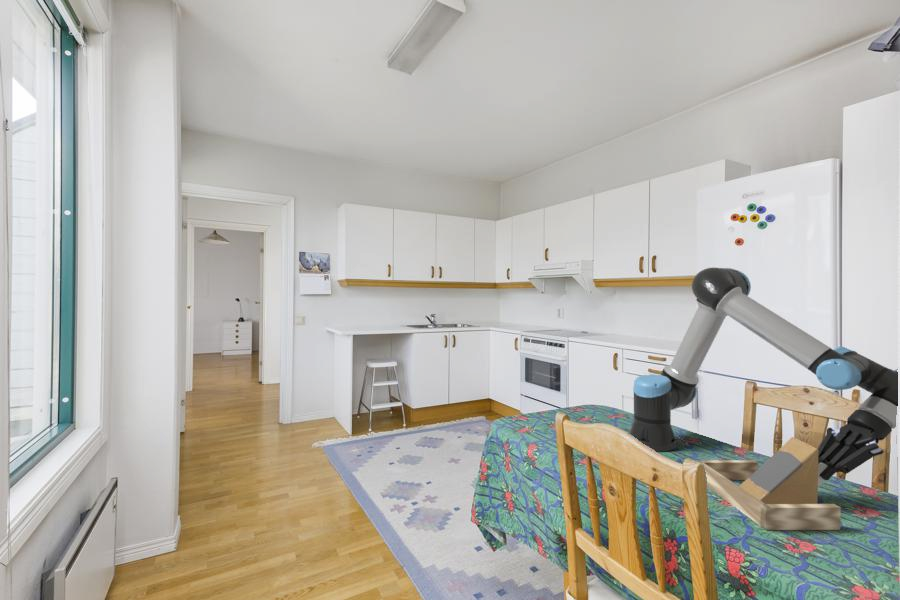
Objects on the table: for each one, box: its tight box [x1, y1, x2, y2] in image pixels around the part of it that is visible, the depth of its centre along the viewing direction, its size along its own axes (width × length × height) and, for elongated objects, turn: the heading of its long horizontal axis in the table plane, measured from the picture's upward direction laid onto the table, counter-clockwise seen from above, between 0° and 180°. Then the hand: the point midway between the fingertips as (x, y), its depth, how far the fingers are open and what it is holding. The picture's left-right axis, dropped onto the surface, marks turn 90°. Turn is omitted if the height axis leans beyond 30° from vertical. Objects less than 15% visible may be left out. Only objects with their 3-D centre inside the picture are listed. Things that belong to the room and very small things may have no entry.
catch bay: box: [695, 459, 842, 531], centre depth 105 cm, size 17×26×5 cm, turn 0°
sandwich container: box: [738, 436, 819, 504], centre depth 106 cm, size 9×15×15 cm, turn 86°
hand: (809, 484), depth 105 cm, fingers closed
